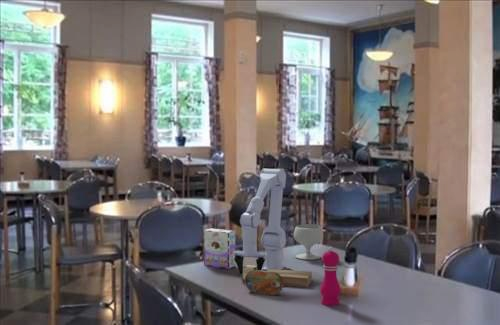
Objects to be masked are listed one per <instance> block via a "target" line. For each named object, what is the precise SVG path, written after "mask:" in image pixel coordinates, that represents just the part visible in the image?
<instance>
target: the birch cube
mask: <svg viewBox="0 0 500 325" xmlns="http://www.w3.org/2000/svg"><path fill="white" fill-rule="evenodd" d="M253 270H257V265H251V264H249V265H248V264H247V265H245V266H243V274H242V280H244V281H245V277H246V275H247V274H248V273H249V272H250V271H253Z"/></svg>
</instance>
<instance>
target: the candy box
mask: <svg viewBox="0 0 500 325" xmlns="http://www.w3.org/2000/svg"><path fill="white" fill-rule="evenodd" d="M233 251H236V231H235V230H231V229H223V228H221V229H220V228H212V227H211V228H206V229H203V266H205V267H211V268H219V269H226V270H229V269H233V268H235V267H236V266H237V264H236V262H235V260H234V258H235V256H233Z"/></svg>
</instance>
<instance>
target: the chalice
mask: <svg viewBox="0 0 500 325" xmlns="http://www.w3.org/2000/svg"><path fill="white" fill-rule="evenodd" d="M323 232H324V231H323V229H322V227H321V226H320V225H318V224H310V223H309V224H308V223H307V224H298V225H296V226H295V228H294V231H293V239H294V240H295V241H296V242H297V243H299V244H300V245H302V246H304V248H305V249H306V251H305V253H299V254H296V255H295V258H296V259H300V260H303V261H304V260H305V261H313V260H318V259H322V255H319V254H316V253H312V252H311V248H312V247H313V246H315V245H317V244H318V243H320V242H321V241H322V240H323V238H324V233H323Z"/></svg>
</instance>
